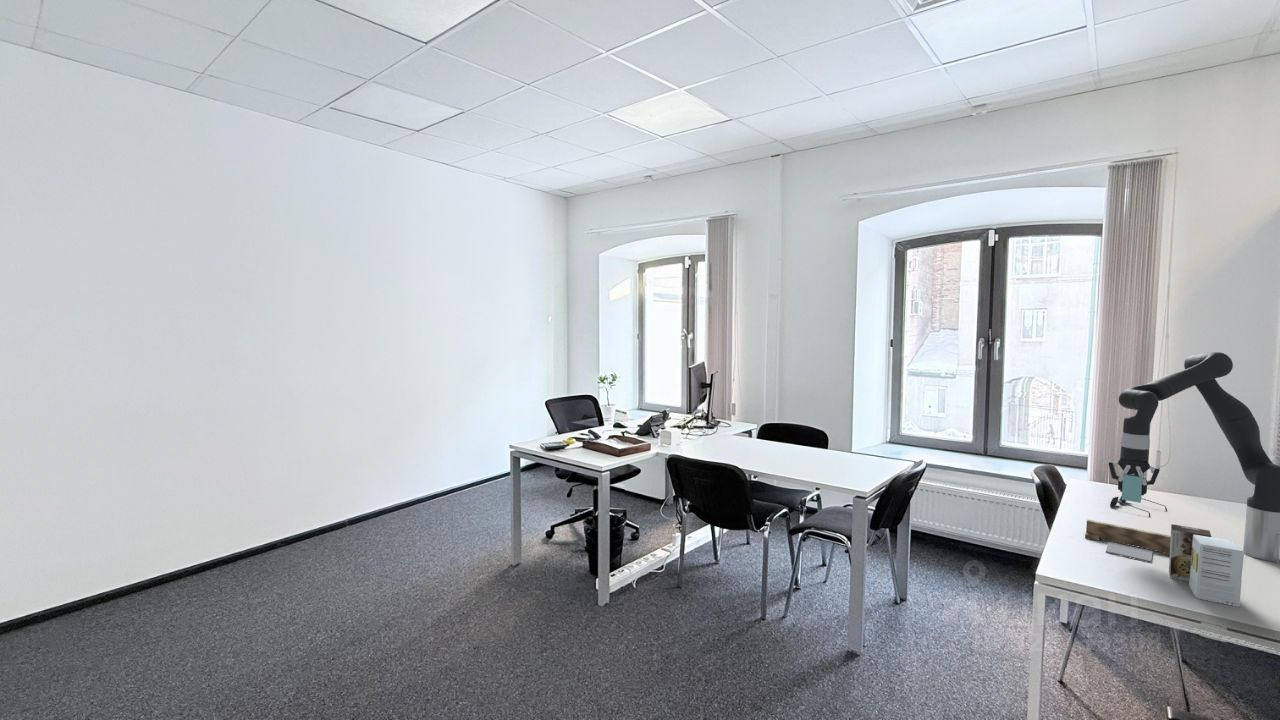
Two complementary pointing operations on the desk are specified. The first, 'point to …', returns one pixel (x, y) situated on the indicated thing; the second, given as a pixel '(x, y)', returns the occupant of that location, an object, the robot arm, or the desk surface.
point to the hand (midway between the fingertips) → (1131, 493)
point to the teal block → (1132, 488)
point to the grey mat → (1129, 551)
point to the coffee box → (1182, 550)
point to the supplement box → (1216, 570)
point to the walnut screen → (1128, 536)
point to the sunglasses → (1115, 500)
